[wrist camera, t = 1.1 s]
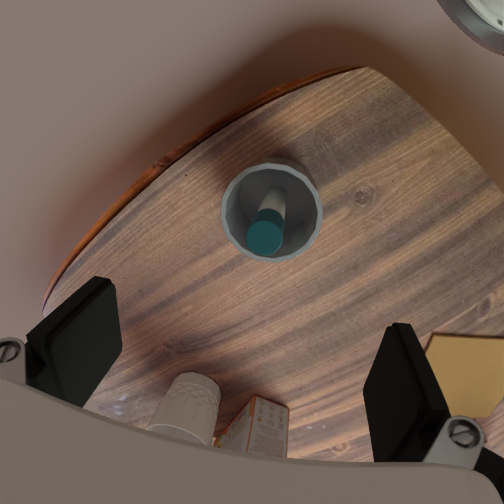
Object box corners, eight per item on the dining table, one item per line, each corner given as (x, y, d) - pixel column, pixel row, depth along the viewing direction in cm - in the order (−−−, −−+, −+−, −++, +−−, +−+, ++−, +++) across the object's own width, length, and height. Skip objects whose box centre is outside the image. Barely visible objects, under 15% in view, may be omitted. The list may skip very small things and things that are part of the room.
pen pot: (240, 151, 30) (225, 157, 23) (322, 162, 29) (329, 171, 22) (233, 228, 32) (217, 254, 26) (309, 239, 32) (313, 268, 25)
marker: (265, 184, 30) (247, 217, 19) (289, 187, 30) (285, 222, 19) (263, 207, 31) (243, 253, 20) (286, 210, 30) (280, 258, 19)
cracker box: (247, 452, 46) (225, 563, 26) (213, 438, 45) (181, 551, 26) (293, 408, 40) (282, 548, 21) (254, 392, 40) (226, 536, 21)
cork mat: (432, 333, 34) (433, 335, 33) (534, 338, 32) (535, 340, 32) (389, 420, 40) (389, 422, 39) (487, 415, 38) (488, 417, 38)
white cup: (236, 387, 40) (220, 446, 31) (209, 415, 43) (193, 469, 34) (182, 358, 39) (156, 414, 30) (162, 389, 42) (136, 441, 33)
